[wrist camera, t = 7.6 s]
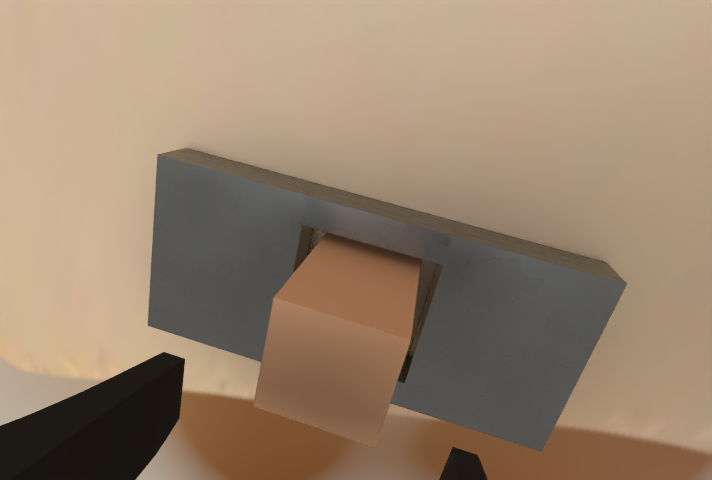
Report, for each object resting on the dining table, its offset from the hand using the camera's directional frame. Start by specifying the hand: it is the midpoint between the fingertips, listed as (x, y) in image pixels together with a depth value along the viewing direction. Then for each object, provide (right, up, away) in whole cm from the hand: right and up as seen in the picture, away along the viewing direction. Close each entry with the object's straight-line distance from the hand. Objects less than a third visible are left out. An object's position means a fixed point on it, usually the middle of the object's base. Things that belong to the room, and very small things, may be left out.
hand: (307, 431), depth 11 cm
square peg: (+2, +3, +8) cm, 9 cm away
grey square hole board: (+2, +3, +8) cm, 9 cm away
